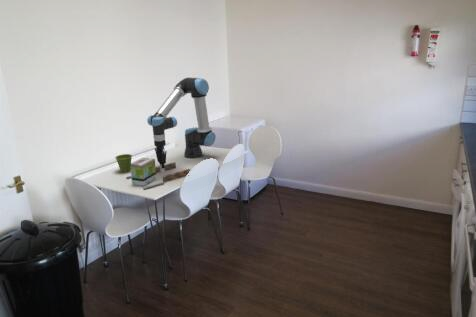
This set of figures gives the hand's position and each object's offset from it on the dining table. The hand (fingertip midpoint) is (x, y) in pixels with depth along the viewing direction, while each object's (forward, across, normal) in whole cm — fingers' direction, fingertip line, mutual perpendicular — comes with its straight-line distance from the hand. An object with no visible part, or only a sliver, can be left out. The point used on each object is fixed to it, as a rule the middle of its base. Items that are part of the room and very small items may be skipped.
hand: (162, 172), depth 247 cm
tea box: (+3, +1, -14) cm, 15 cm away
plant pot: (+3, -29, -15) cm, 33 cm away
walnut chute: (+3, 0, +5) cm, 6 cm away
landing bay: (+3, 0, -14) cm, 14 cm away
